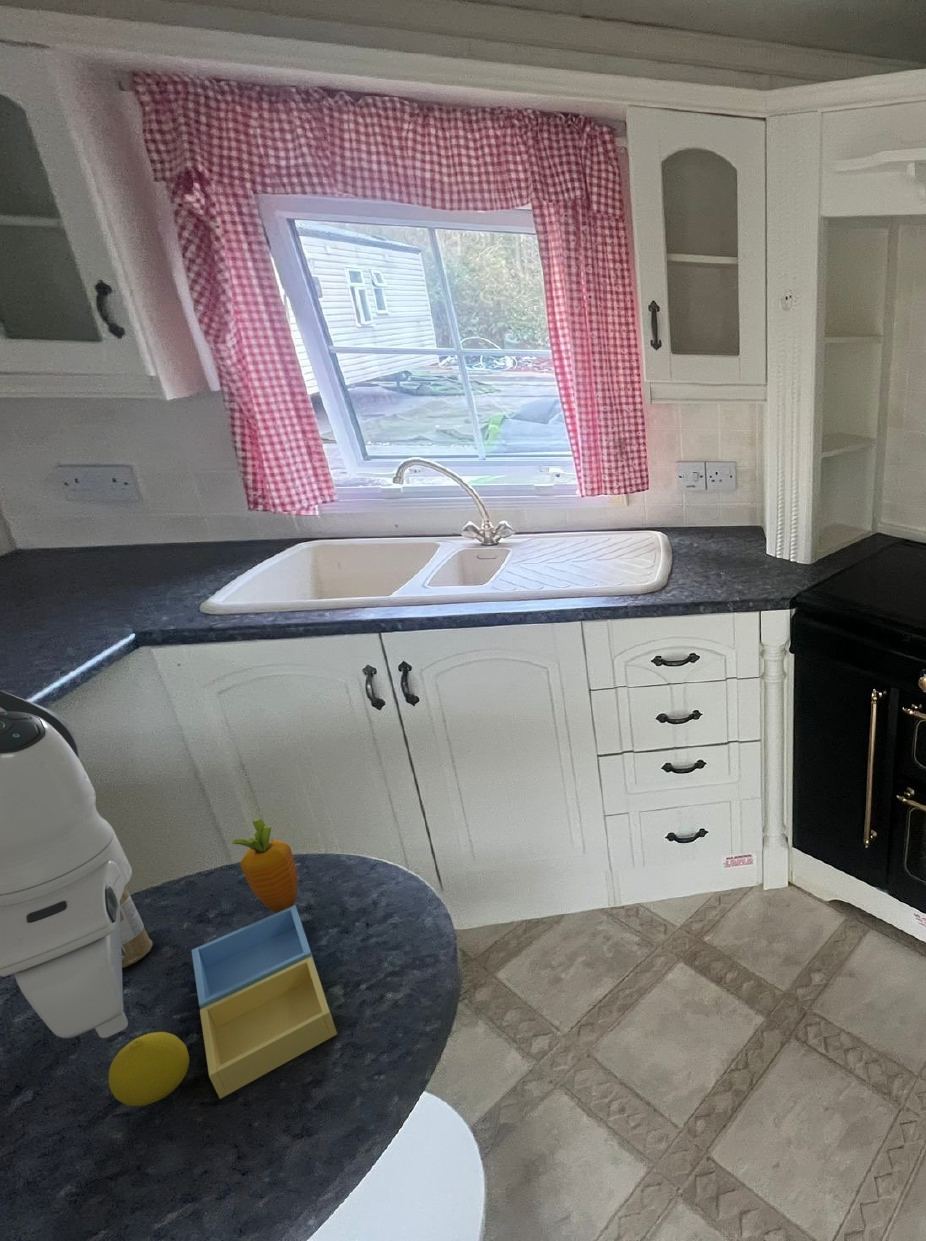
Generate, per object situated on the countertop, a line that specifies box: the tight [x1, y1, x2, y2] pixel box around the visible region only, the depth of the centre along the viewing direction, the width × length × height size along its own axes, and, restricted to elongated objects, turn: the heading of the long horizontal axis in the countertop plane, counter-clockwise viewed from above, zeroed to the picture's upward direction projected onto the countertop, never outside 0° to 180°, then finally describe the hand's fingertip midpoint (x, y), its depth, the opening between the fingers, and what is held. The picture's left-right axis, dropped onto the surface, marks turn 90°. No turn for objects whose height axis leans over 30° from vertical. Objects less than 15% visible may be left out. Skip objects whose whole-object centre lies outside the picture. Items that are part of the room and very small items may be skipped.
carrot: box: [231, 818, 298, 914], centre depth 90 cm, size 5×5×15 cm
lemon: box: [108, 1031, 190, 1107], centre depth 70 cm, size 6×6×8 cm
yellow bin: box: [199, 956, 338, 1100], centre depth 77 cm, size 10×10×4 cm
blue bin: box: [190, 904, 319, 1010], centre depth 84 cm, size 10×10×4 cm
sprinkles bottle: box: [120, 886, 154, 969], centre depth 83 cm, size 5×5×14 cm
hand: (114, 994), depth 66 cm, fingers open, 8 cm apart
